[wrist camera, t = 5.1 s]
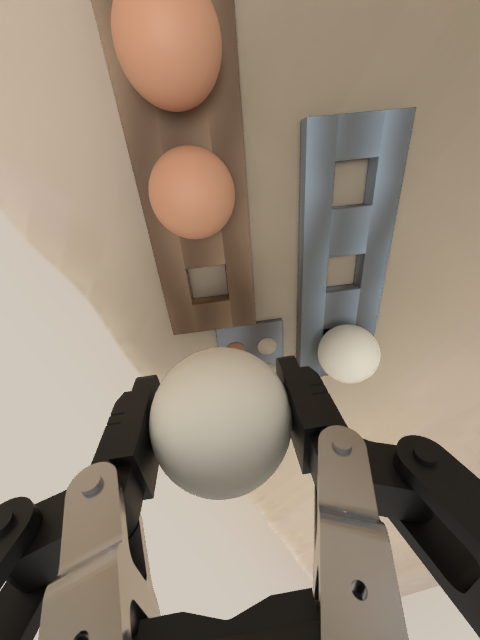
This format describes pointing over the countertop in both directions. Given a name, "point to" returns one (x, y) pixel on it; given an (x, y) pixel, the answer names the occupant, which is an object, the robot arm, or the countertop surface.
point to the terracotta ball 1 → (168, 49)
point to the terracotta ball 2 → (191, 192)
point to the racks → (234, 238)
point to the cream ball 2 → (349, 353)
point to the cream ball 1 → (220, 423)
